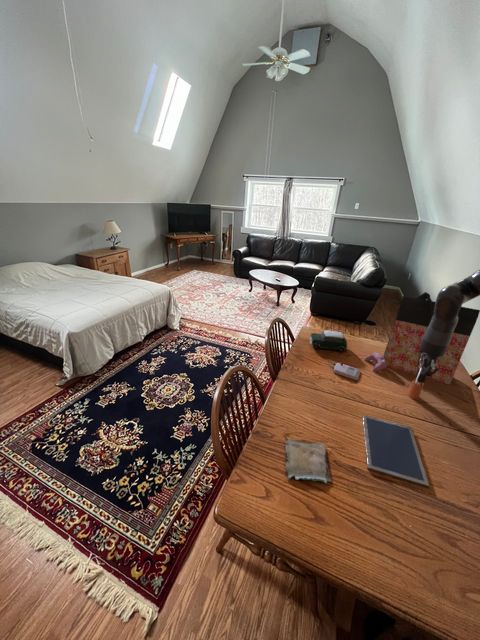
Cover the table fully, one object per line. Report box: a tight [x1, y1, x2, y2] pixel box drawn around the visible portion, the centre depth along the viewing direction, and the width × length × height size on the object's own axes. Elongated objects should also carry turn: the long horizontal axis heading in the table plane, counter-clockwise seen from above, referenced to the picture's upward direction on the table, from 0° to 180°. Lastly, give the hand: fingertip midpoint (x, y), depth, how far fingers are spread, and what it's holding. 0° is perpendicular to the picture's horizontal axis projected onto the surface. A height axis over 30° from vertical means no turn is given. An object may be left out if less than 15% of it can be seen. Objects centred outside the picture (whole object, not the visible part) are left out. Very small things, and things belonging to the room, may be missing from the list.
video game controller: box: [363, 352, 388, 373], centre depth 120 cm, size 10×5×7 cm, turn 0°
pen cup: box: [407, 379, 425, 400], centre depth 102 cm, size 4×4×7 cm
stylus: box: [415, 368, 425, 385], centre depth 100 cm, size 2×2×13 cm
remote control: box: [327, 361, 362, 381], centre depth 116 cm, size 7×16×3 cm, turn 58°
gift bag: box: [382, 291, 480, 385], centre depth 114 cm, size 29×14×35 cm, turn 60°
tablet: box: [361, 414, 430, 489], centre depth 82 cm, size 15×21×1 cm
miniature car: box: [309, 329, 348, 353], centre depth 134 cm, size 9×18×8 cm, turn 80°
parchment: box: [284, 438, 332, 485], centre depth 76 cm, size 12×13×1 cm
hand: (419, 379), depth 100 cm, fingers closed on stylus, 2 cm apart
